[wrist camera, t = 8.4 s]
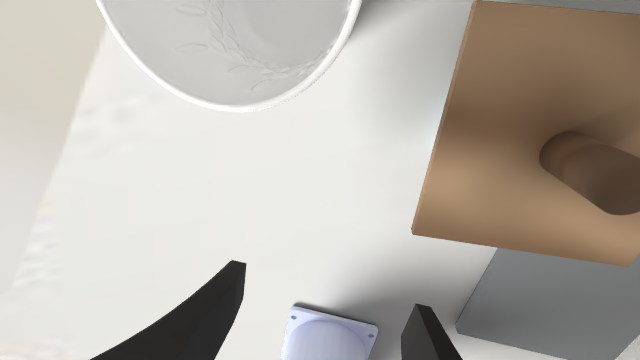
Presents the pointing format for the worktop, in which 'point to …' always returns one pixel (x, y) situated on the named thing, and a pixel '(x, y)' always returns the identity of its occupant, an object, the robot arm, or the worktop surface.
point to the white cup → (233, 46)
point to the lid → (540, 135)
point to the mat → (555, 305)
